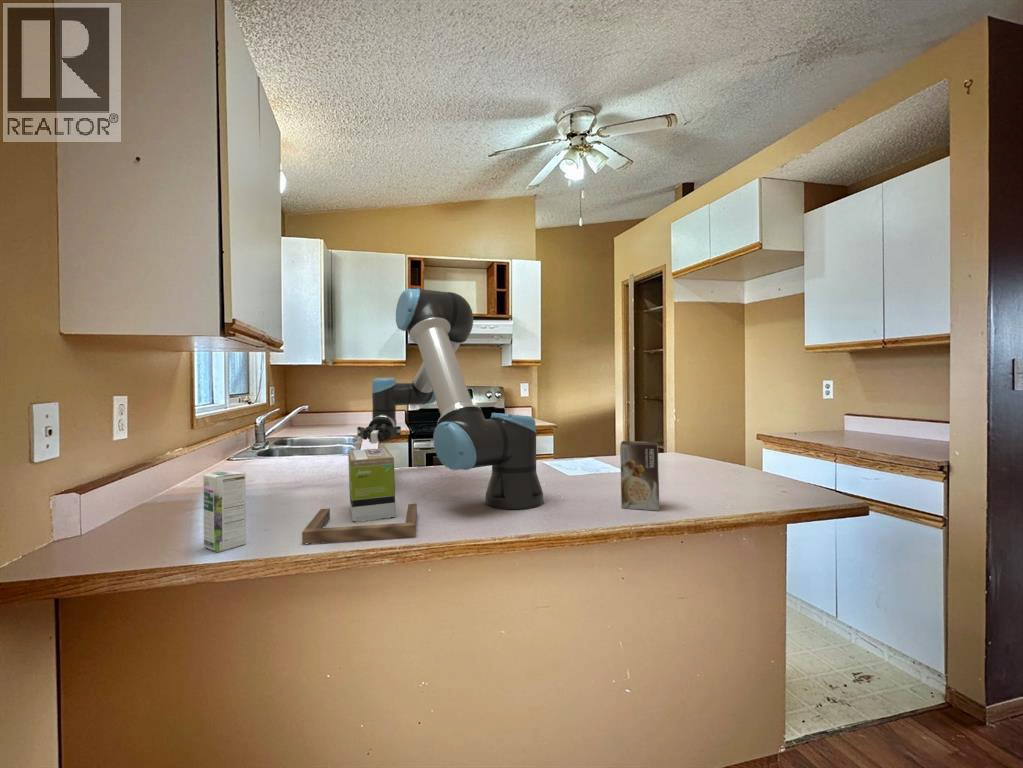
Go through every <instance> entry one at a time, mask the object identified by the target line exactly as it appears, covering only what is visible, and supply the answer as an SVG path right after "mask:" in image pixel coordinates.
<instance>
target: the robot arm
mask: <svg viewBox="0 0 1023 768" xmlns="http://www.w3.org/2000/svg"><path fill="white" fill-rule="evenodd" d="M395 324H396V327H397V329H399V330H400V331H403V332H405V331H407V333H408V336H409V339H410V341H412V342H413V343H415V344H417V346H418V349H419V352H420V355H421V359H422V363H421V365H420V367H419V369H418V371H417V372H416V375H415V377H414V378H413V381H412V382H406V383H405V382H397V381H396V379H395V378H394V377H375V378H374V379H373V380H372V383H371V386H372V387H371V399H372V400H371V401H372V410H371V411H372V417H371V418H372V420H371V421H369V423H368V426H366V427H361V426H358V427H357V428H356V430H357V433H356V434H357V436H358V437H360V438H361V439H362V440H364V441H365V440H368V441H369V443H370V444H377V443H378V442H385V441H388V440H390V439H392V438H395V437H396V436H401V435H402V427H401V426H400V425H398V426H397V418H396V417H397V416H396V411H397V409H396V408H397V406H415V405H416V406H417V405H423V406H424V405H429V404H433V403H435V402H436V405H437V408H438V411H439V413H440V417H438V420H437V423H436V425H437V426H436V427H435V429H434V431H433V435H432V436H433V437H432V438H433V440H434V441H433V447H434V452H435V453H436V456H437V458H438V460H439V462H441V464H442V465H443V466H445V468H448V469H449V470H453V471H458V470H459V471H460V470H461V471H462V470H463V471H467V470H468V471H469V470H471V469H476V468H483V467H491V475H490V478H489V482H488V485H487V488H486V491H485V504H486V505H487V506H489V507H492V508H497V509H503V510H524V509H531V508H535V507H538V506H540V505H542V504H544V491H543V488H542V486H541V481H540V479H539V477H538V473H537V435H538V432H537V425H536V420H535V419H534V417H532V416H529V415H522V414H511V413H509V414H508V413H500V412H498V413H497V412H491V416H490V418H488V419H487V418H485V416H484V413H483V410H482V408H481V407H480V406H478V405H475V404H473V400H472V397H471V395H470V393H469V390H468V387H467V384H466V382H465V378H464V376H463V372H462V371H461V367H460V365H459V362H458V359H457V356H456V352H457V350H458V349H459V347H460V345H461V344H463V343H465V342H466V341H467V340H468V339H469V336H470V335H471V332H472V329H473V326H474V314H473V310H472V308H471V305H470V304H469V301H467V300H466V299H465V297H463V296H462V295H460V294H458V293H456V292H452V291H451V292H450V291H441V290H431V289H423V288H406V289H404V290H403V291H402V292H401V293H400V295H399V297H398V300H397V303H396V308H395Z"/></svg>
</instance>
